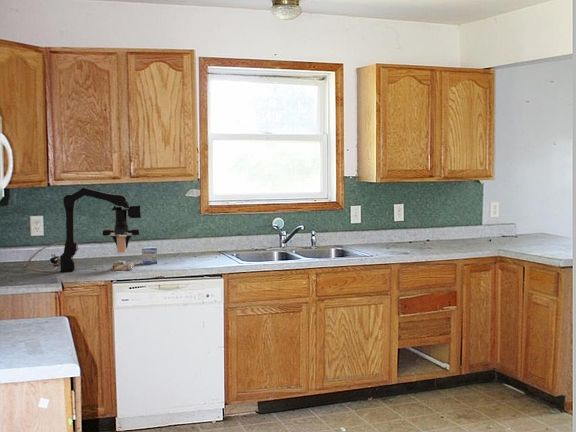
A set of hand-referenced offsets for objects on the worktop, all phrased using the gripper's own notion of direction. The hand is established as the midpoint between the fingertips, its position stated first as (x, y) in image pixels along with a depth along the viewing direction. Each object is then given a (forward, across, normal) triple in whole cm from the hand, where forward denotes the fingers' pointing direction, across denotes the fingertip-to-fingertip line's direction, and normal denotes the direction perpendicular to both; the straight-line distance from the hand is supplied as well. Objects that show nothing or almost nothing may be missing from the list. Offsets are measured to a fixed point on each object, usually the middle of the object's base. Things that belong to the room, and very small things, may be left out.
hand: (122, 248), depth 359 cm
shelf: (+11, 0, 0) cm, 11 cm away
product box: (+2, 0, 0) cm, 2 cm away
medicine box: (+11, +12, +14) cm, 22 cm away
